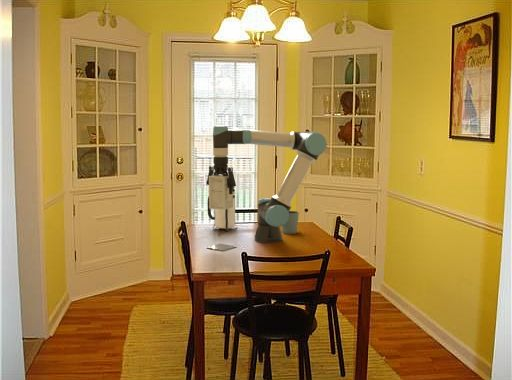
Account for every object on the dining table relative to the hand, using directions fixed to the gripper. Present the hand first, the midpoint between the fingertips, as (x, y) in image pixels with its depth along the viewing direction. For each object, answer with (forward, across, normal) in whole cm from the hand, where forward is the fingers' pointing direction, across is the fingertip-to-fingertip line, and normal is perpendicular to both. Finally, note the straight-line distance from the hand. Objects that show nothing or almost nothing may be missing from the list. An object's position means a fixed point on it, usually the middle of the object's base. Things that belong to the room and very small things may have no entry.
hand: (221, 199), depth 302 cm
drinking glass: (+26, -8, -54) cm, 60 cm away
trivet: (+25, 0, 0) cm, 25 cm away
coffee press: (+26, +30, -39) cm, 55 cm away
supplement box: (+5, 0, 0) cm, 5 cm away
